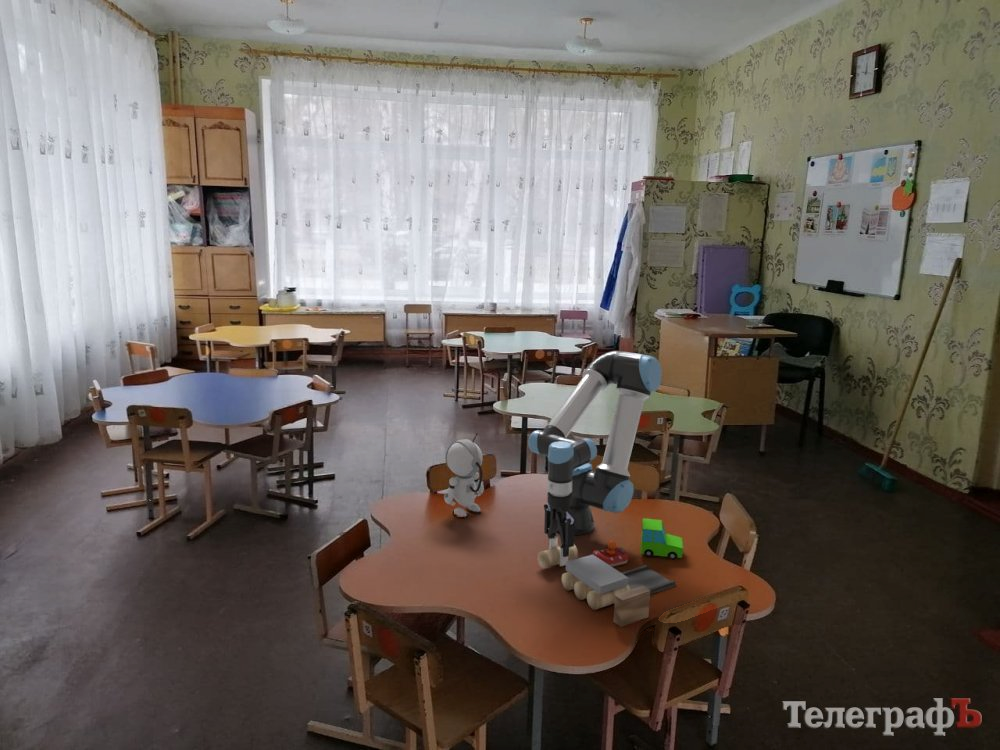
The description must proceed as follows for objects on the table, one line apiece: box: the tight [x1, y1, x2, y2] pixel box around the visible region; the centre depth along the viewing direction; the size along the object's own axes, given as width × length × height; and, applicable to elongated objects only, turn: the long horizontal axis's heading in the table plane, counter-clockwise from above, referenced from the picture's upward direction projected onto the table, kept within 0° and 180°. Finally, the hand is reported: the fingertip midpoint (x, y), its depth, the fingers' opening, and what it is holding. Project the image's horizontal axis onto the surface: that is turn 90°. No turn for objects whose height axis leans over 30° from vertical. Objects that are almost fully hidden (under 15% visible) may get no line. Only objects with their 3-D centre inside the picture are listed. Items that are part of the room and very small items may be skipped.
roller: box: [537, 544, 579, 569], centre depth 222 cm, size 12×5×5 cm, turn 122°
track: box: [561, 564, 677, 628], centre depth 206 cm, size 26×30×8 cm
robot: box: [443, 432, 484, 517], centre depth 258 cm, size 14×13×29 cm
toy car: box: [640, 517, 684, 561], centre depth 231 cm, size 10×13×10 cm
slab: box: [565, 553, 628, 595], centre depth 205 cm, size 16×10×2 cm, turn 32°
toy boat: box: [592, 539, 629, 568], centre depth 224 cm, size 8×12×8 cm, turn 115°
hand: (558, 560), depth 222 cm, fingers closed on roller, 5 cm apart
